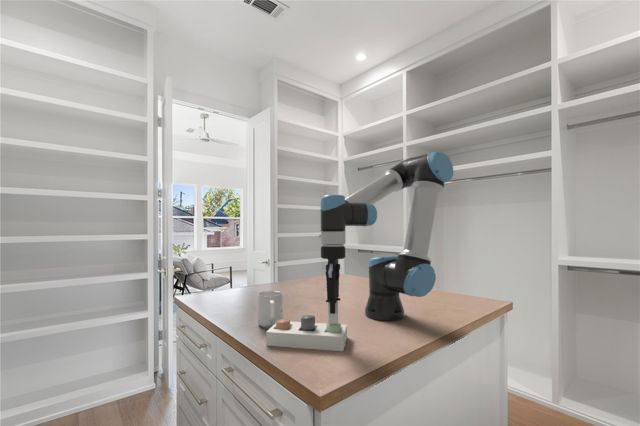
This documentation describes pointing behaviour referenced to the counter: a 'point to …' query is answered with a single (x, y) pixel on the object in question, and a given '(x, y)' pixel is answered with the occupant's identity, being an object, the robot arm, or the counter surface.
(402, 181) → the robot arm
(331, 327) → the button sage
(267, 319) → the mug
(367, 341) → the counter surface
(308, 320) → the button charcoal
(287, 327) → the button terracotta
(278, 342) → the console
